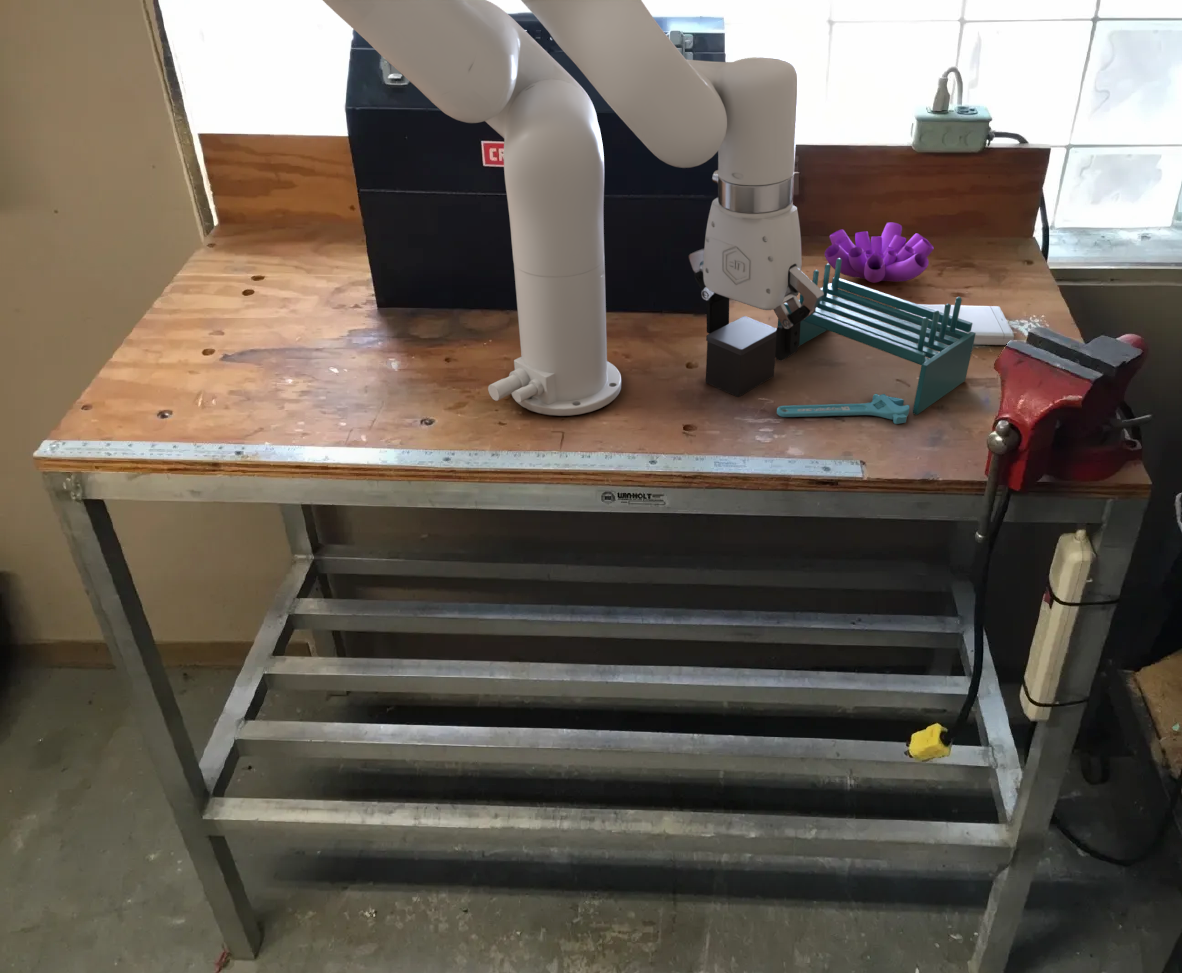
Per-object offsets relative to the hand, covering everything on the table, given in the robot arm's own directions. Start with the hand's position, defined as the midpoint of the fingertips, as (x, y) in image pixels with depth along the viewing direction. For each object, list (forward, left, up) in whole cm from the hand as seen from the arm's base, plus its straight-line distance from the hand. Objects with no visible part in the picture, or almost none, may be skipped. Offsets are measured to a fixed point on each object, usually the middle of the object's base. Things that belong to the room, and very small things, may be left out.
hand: (751, 342), depth 110 cm
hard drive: (+26, -10, -5) cm, 29 cm away
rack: (+11, -8, -5) cm, 15 cm away
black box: (-1, +1, -5) cm, 5 cm away
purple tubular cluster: (+32, +5, -5) cm, 33 cm away
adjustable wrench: (+1, -12, -5) cm, 13 cm away
